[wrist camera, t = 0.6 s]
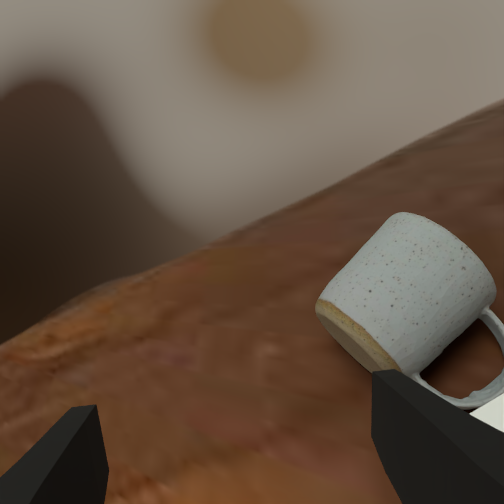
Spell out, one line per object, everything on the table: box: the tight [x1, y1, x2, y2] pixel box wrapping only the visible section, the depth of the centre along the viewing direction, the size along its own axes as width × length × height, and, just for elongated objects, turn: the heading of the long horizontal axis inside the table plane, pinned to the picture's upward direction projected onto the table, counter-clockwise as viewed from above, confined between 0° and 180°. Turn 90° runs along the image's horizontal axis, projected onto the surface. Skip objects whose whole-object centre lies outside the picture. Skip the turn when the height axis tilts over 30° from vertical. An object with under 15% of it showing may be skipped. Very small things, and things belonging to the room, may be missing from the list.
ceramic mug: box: [315, 212, 504, 410], centre depth 26 cm, size 11×8×8 cm
